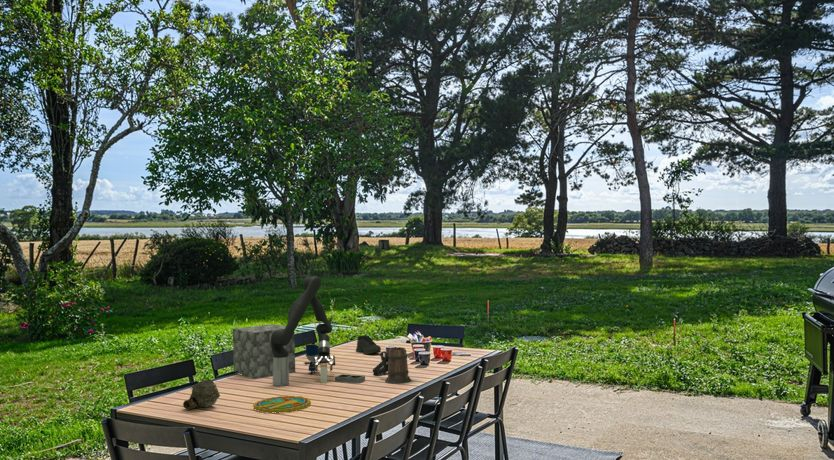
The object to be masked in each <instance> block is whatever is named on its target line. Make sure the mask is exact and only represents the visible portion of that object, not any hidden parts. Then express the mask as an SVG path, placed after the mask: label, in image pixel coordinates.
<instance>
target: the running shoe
mask: <svg viewBox="0 0 834 460" xmlns="http://www.w3.org/2000/svg"><path fill="white" fill-rule="evenodd" d="M381 348H382V347H381V346H380V345H377V344H376V342H374V340H373V338H371V337H370V335H365V334H364V335H360V336H359V335H358V336H357V341H356V349H355V352H357V353H363V354H364V355H373V354H378V353H381V352H382V349H381Z"/></svg>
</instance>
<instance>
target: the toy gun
mask: <svg viewBox="0 0 834 460" xmlns="http://www.w3.org/2000/svg"><path fill="white" fill-rule="evenodd" d="M387 353H388V354H389V352H387ZM383 356H384V359H385V355H383ZM385 361H386V372H385V374H386V373H388V358H387V359H385ZM380 368H381V369H382V372H381V371H380V372H381V374H382V373H383V369H384V365H383V361H382V360H381V362H380V363H378V364H377V365H376V366H374V368H373V369H372V375H373V376H375V377H376V376H379V375H378V373H377V370H378V369H380Z"/></svg>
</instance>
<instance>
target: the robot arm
mask: <svg viewBox="0 0 834 460" xmlns="http://www.w3.org/2000/svg"><path fill="white" fill-rule="evenodd" d="M302 286H303V289H304V292H303V293H302V294H301V295H300V296H299V297H297V299H295V301H293V303H292V304H291V306H290V308H289V310H288V312H287V313H288V314H287V323H286V325H285V326H286V327H285V329H284V330H283V331H281V330H276V331H274V332H273V333H272V336H271V348H272V353H273V376H272V386H276V387H284V386H288V385H289V384H290V373H289V360H288V351H287V350H285V349H284V347H283V346H286V345H288V344H289V342H290V340H291V338H292V336H293V334H294V335H295V331H296V329H297V327H298V325H299V323H300V322H301V319H302V318H303V317H304V314H305V313H306V311H307V309H308V307H309V305H311V307H312V311H313V315H314V317H315V320H316V321H317V322H323V323H320V324H317V325H316V327H315V331H316V333H317V337H318V344H317V345H318V357H315V356H313V363H312V364H313V366H315V373H316V372H318V371H319V367H318V366H320V364H324V363H327V365H329V368H330V369H329V370H330V371H329V372H332V371H333V366H336V356H335V355H332V356H331V346H330V345H331V344H330V341H331V340H330V335H329V334H331V333H332V332H333V326H332V323H331V321H330V320H329V318H328V317H327V314H326V311H325V307H324V305H323V303H322V302H321V300H319V298H318V296H317V293H318V291H319V289H320V288H321V286H322V280H321V277H319V276H317V275H316V276H315V275H312V276H306V277H305V278H303V280H302ZM331 360H332V361H331ZM315 362H317V363H316V364H315Z"/></svg>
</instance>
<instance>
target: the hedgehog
mask: <svg viewBox="0 0 834 460" xmlns="http://www.w3.org/2000/svg"><path fill="white" fill-rule="evenodd" d="M220 397H221V394H220V392H219V389H218V388H217V385H216V383H215V382H214V381H213V380H212V379H210V378H208V379H203V380H201V381H199V382H196V383H195V384H194V385H191V394H190V397H189V398H188V399H185V400H184V401H183V403H182V406H183V408H184V409H185V410H186V409H191V410H194V409H195V408H197V407H200V408H206V407H207V408H208V407H213V406H212V405H215V404H216V403H217V401H218V398H220Z"/></svg>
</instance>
